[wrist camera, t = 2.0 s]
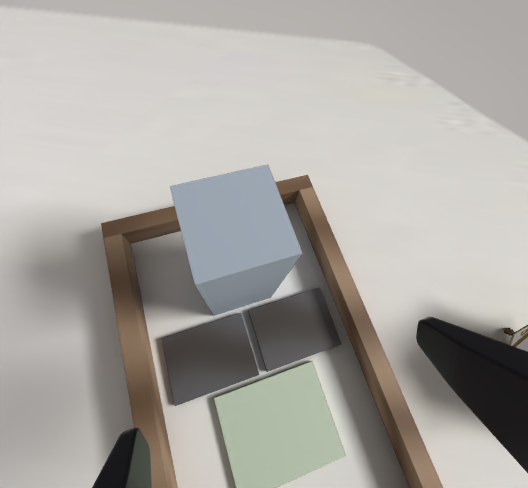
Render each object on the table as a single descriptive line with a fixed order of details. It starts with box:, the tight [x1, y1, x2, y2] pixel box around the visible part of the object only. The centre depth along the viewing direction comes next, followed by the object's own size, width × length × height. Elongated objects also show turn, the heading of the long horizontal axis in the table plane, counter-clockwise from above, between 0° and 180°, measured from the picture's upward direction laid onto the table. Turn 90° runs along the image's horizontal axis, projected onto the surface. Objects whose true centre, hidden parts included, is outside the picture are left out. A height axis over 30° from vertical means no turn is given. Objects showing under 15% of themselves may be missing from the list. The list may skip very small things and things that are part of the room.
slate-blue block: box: [170, 165, 302, 316], centre depth 17 cm, size 4×4×11 cm
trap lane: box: [101, 175, 443, 488], centre depth 19 cm, size 26×16×2 cm, turn 18°
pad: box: [214, 361, 346, 488], centre depth 19 cm, size 6×7×1 cm
